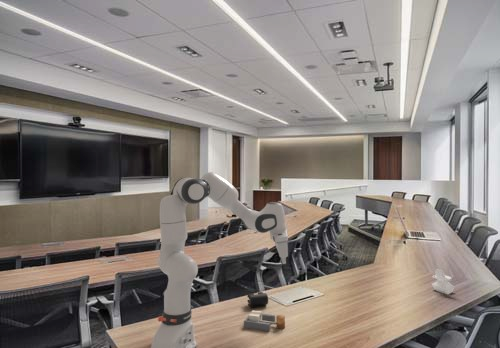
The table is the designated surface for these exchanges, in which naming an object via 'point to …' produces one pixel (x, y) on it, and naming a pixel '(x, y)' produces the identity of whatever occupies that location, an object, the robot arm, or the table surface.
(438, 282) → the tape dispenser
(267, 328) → the tray
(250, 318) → the corded block
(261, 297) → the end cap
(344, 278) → the table surface
